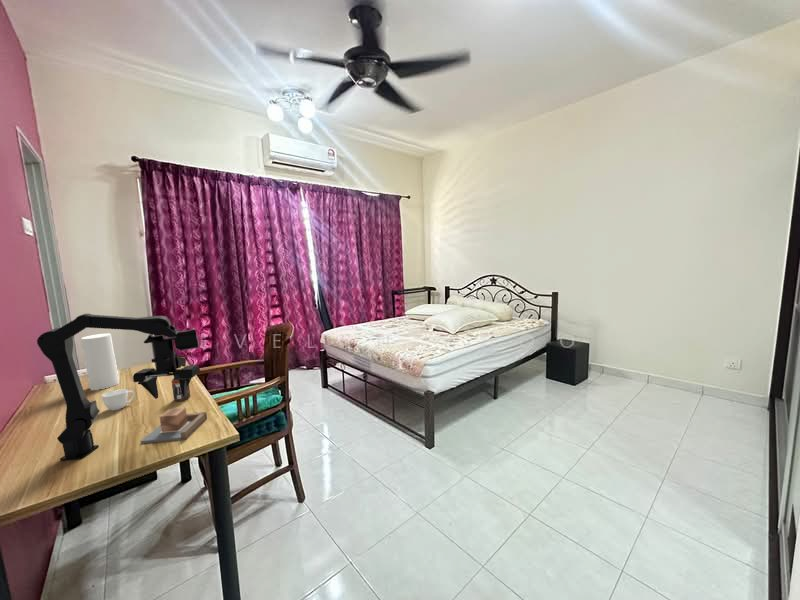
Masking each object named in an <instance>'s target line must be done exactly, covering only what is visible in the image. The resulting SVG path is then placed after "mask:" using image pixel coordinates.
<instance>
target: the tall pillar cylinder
mask: <svg viewBox="0 0 800 600" xmlns="http://www.w3.org/2000/svg"><path fill="white" fill-rule="evenodd" d="M80 340H81V341H80V343H81V348H82V352H83V357H84V364H85V369H86V373H87V374H86V375H87V379H88V385H89V389H90V390H91V391H100V390H99V389H102V390H105V388H106V389H110V388H113V387H115V385H116V386H118V385H119V384H120V379H119V373H118V367H117V362H116V355H115V349H114V345H113V344H114V343H113V338H112V334H111V333H107V332H106V333H97V334H91V335H87V336H82V337H80ZM117 384H118V385H117ZM112 386H113V387H112ZM109 387H110V388H109Z"/></svg>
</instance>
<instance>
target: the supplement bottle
mask: <svg viewBox="0 0 800 600" xmlns="http://www.w3.org/2000/svg"><path fill="white" fill-rule="evenodd" d="M179 379H181V378H180V377H179V375H173V378H172V380H171V386H172V387H171V389H172V395H173V400H174V401H176V402H182V401H185V400H186V401H187V400H188V399H189V398H190V397H191V389H190V386H189V387H188V390H187V394H186V396H183V394H182V391H181V387H180V383H179Z"/></svg>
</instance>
